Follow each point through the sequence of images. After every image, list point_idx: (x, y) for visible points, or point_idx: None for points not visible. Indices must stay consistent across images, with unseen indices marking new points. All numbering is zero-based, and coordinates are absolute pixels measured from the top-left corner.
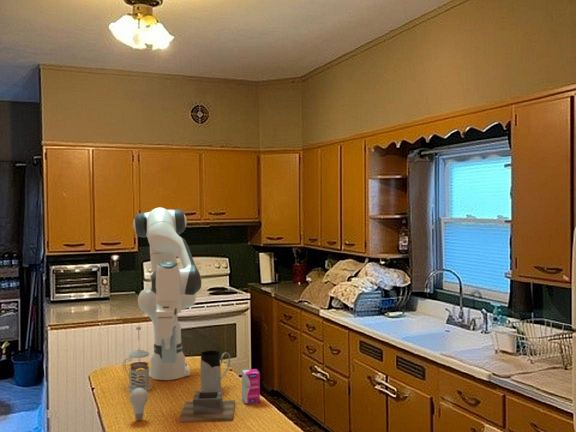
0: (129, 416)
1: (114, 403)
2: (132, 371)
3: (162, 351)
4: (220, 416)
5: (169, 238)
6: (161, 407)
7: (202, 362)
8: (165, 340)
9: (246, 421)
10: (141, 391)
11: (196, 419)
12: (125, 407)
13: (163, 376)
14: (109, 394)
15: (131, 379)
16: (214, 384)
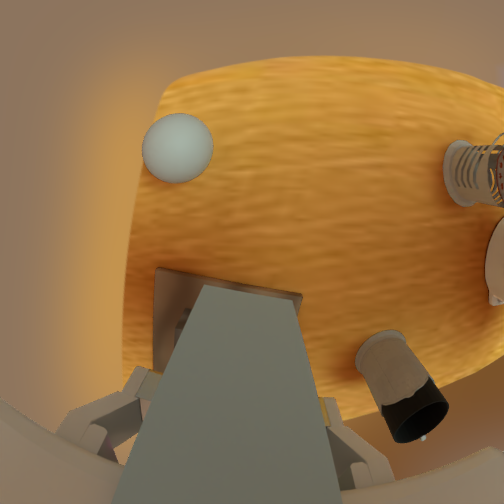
0: (238, 125)
1: (367, 88)
2: (489, 151)
3: (183, 330)
4: (163, 360)
5: None
6: (295, 222)
7: (409, 391)
8: (80, 418)
9: None
10: (149, 158)
11: (154, 310)
12: (325, 114)
13: (496, 243)
14: (437, 91)
15: (474, 149)
16: (364, 376)
